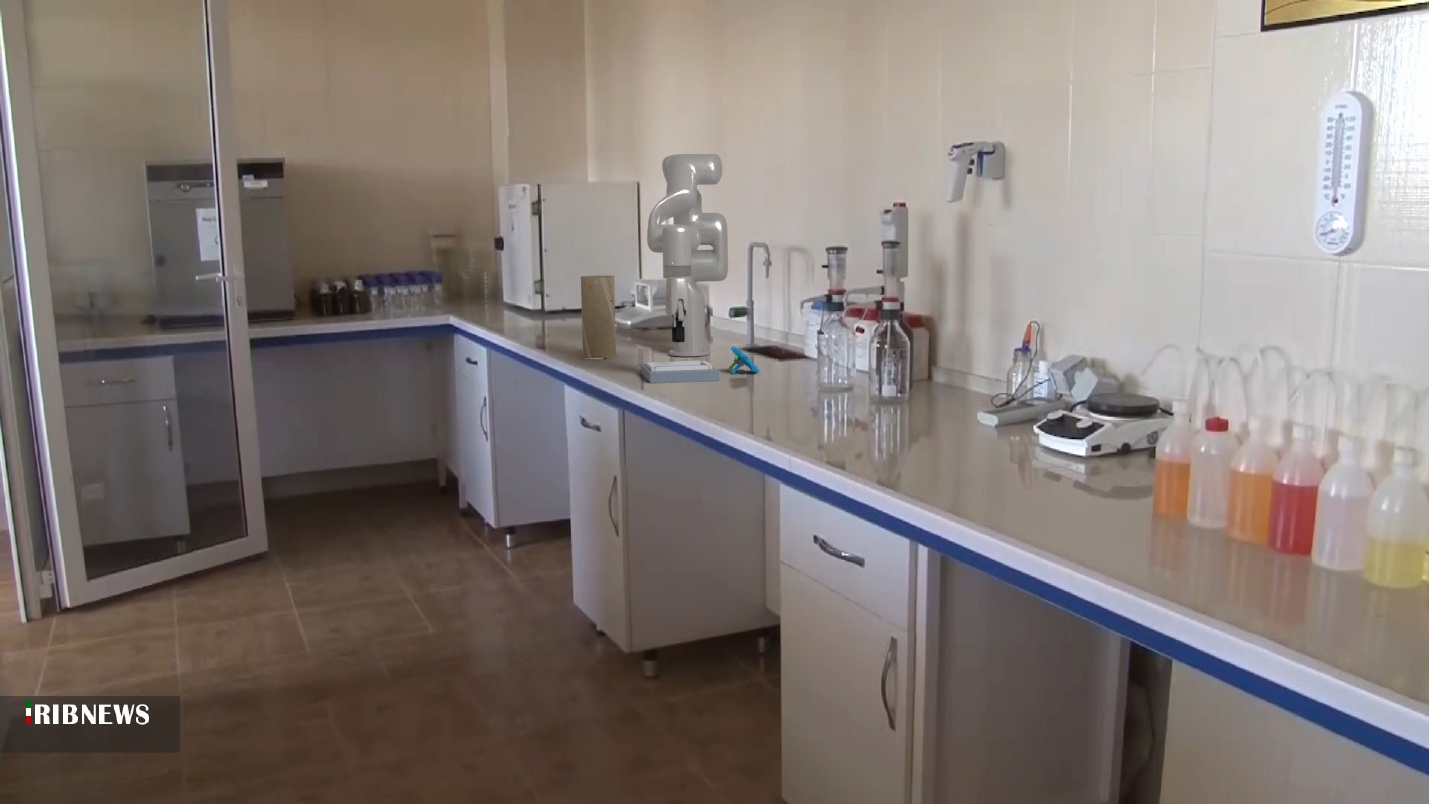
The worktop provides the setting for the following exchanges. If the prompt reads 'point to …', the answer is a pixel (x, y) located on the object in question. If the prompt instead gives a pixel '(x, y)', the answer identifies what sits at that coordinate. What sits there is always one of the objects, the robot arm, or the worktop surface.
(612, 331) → the tube
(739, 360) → the blue cogwheel with peg
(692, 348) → the robot arm
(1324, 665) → the worktop surface
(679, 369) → the plate
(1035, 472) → the worktop surface
